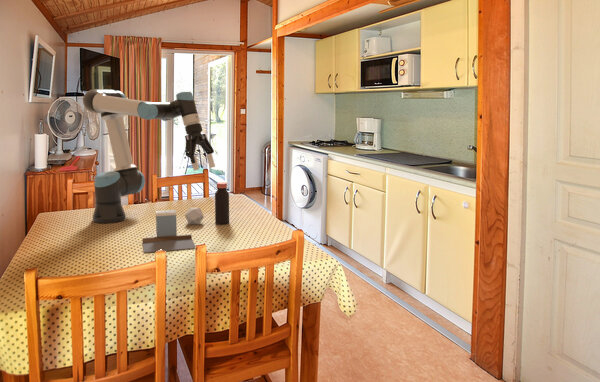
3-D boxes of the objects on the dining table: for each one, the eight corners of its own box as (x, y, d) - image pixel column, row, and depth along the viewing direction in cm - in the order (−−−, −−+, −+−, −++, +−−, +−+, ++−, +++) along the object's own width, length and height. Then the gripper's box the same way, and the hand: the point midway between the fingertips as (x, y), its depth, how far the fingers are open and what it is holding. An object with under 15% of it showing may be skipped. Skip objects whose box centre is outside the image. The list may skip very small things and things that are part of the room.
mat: (142, 243, 194) (142, 242, 194) (191, 239, 201) (191, 238, 201) (144, 253, 181) (143, 252, 181) (196, 248, 188) (196, 247, 188)
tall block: (156, 237, 202) (155, 210, 200) (175, 236, 205) (175, 209, 203) (157, 241, 198) (156, 213, 196) (177, 239, 200) (176, 212, 198)
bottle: (222, 225, 225) (222, 184, 221) (212, 223, 228) (211, 183, 225) (232, 222, 231) (231, 182, 227) (221, 220, 234) (221, 181, 231)
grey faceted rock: (194, 228, 222) (205, 211, 224) (179, 218, 223) (191, 201, 224) (197, 229, 230) (208, 213, 232) (183, 220, 231) (194, 204, 232)
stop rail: (142, 242, 195) (142, 237, 195) (191, 238, 202) (191, 234, 202) (142, 243, 194) (142, 238, 194) (191, 239, 201) (191, 234, 201)
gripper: (183, 122, 205) (196, 169, 206) (213, 122, 228) (224, 164, 229) (169, 127, 208) (182, 173, 209) (200, 126, 231) (212, 168, 232)
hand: (204, 168), depth 219 cm, fingers open, 13 cm apart
